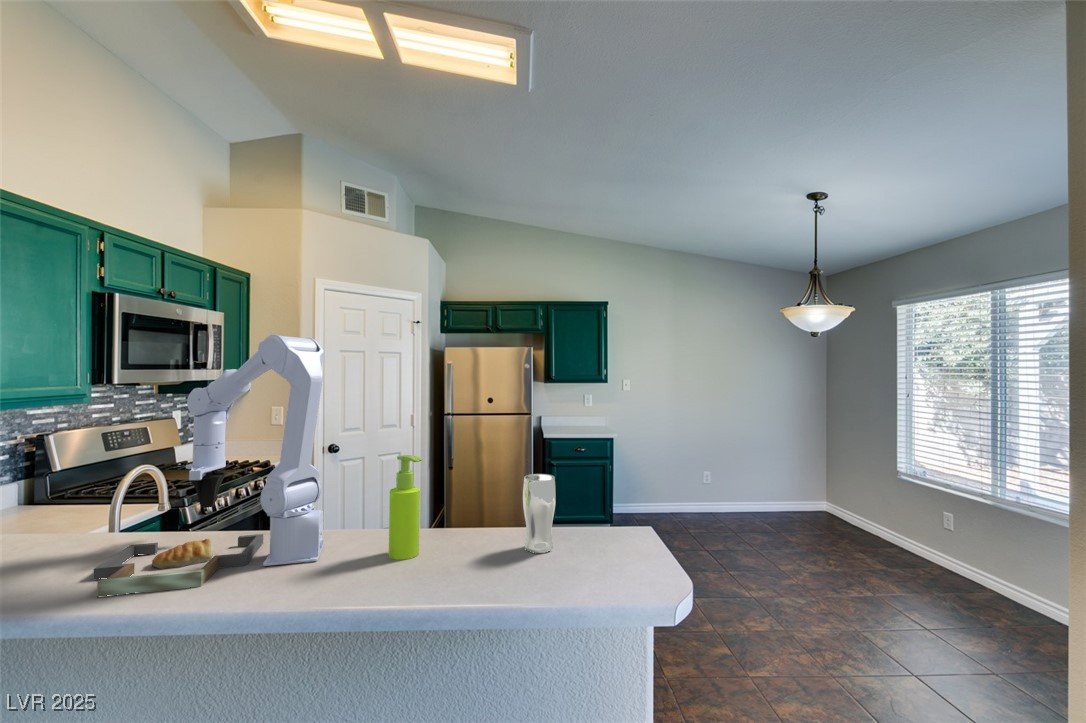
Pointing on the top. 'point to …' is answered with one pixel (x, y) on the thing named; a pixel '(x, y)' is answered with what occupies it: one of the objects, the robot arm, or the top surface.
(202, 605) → the top surface
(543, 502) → the beer glass
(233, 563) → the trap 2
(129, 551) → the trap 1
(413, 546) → the soap dispenser
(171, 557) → the pastry
